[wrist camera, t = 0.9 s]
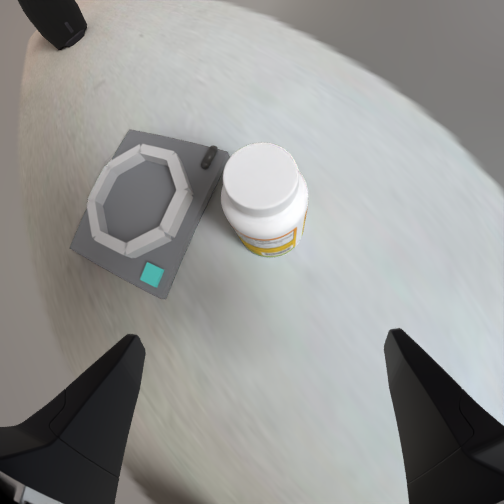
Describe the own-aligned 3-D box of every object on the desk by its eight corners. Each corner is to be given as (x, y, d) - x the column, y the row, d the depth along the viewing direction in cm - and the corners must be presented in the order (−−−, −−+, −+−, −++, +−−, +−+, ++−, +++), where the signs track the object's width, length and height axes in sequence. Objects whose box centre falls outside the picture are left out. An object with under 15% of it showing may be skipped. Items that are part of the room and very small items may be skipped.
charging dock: (165, 299, 24) (152, 297, 21) (75, 250, 26) (60, 244, 24) (229, 157, 26) (224, 142, 23) (133, 134, 28) (123, 122, 26)
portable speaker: (57, 43, 39) (17, -8, 20) (92, 20, 39) (55, -36, 20) (54, 59, 37) (7, 3, 18) (92, 33, 37) (49, -30, 18)
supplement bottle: (263, 185, 25) (248, 117, 15) (315, 218, 24) (331, 160, 14) (226, 235, 24) (188, 188, 15) (279, 272, 23) (273, 243, 14)
